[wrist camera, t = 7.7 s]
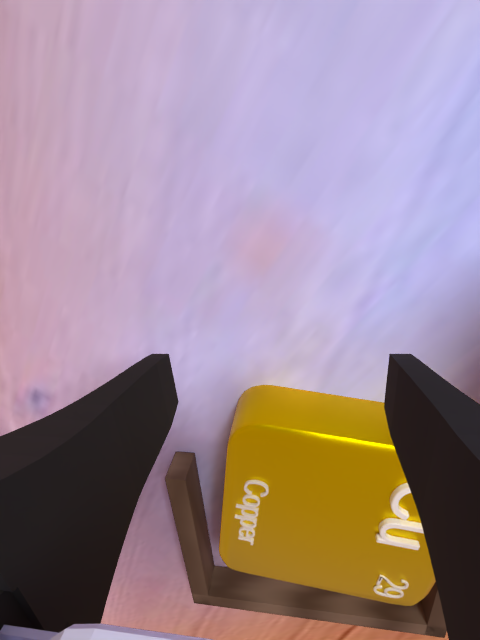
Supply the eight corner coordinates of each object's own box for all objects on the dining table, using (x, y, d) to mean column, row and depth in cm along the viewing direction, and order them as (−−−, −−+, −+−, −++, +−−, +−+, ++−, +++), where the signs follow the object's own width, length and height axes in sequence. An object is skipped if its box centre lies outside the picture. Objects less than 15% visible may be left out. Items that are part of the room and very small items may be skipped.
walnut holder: (472, 470, 24) (489, 503, 22) (434, 602, 31) (444, 637, 29) (175, 451, 28) (165, 478, 25) (200, 573, 34) (194, 602, 32)
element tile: (240, 376, 24) (227, 426, 20) (473, 412, 23) (512, 474, 18) (227, 516, 31) (215, 576, 27) (404, 552, 29) (422, 620, 25)
